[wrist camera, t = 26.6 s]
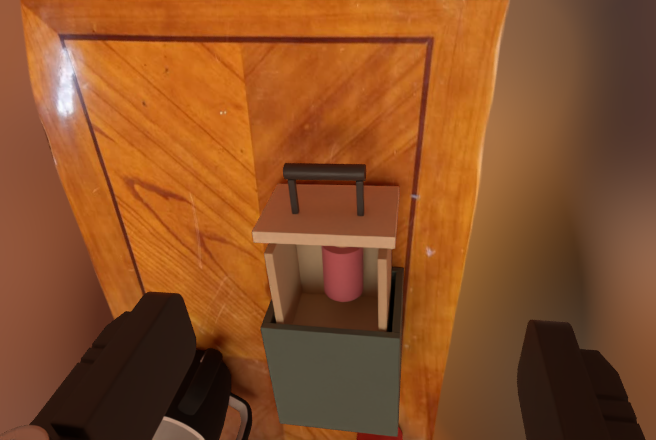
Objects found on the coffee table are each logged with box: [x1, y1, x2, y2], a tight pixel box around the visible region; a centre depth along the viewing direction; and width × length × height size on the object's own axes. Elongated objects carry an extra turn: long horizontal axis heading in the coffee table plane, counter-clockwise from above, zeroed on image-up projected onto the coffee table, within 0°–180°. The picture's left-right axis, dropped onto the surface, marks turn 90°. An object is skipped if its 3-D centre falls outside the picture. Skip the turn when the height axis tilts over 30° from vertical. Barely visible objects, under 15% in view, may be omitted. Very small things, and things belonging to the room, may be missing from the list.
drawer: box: [252, 163, 399, 332], centre depth 45 cm, size 19×12×9 cm, turn 4°
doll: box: [322, 246, 363, 302], centre depth 47 cm, size 4×4×8 cm
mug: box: [152, 348, 252, 440], centre depth 63 cm, size 16×16×12 cm
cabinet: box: [261, 267, 404, 437], centre depth 53 cm, size 16×14×11 cm
